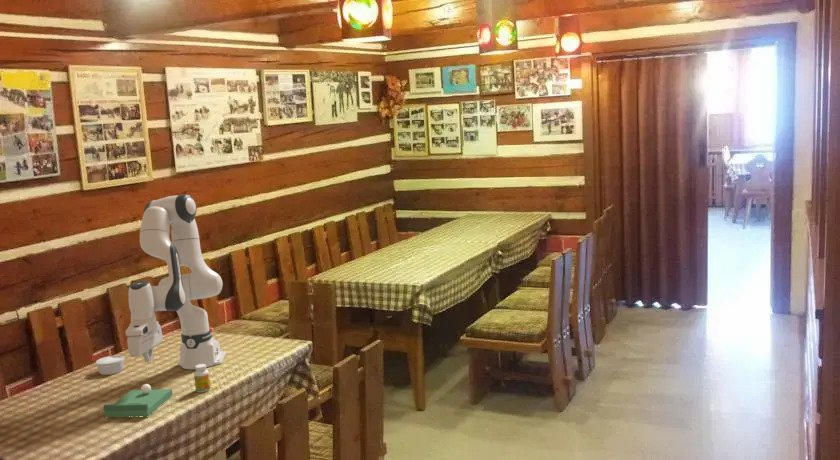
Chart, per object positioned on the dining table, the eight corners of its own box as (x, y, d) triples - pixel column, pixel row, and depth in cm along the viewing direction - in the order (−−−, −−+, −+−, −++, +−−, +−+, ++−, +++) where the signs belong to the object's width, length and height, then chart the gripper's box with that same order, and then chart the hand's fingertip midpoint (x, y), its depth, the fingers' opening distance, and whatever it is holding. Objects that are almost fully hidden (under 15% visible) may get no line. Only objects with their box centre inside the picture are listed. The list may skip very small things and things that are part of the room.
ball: (144, 391, 285) (143, 382, 284) (153, 391, 284) (152, 382, 284) (139, 395, 281) (138, 386, 281) (149, 395, 281) (147, 386, 280)
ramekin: (130, 366, 325) (129, 354, 324) (118, 375, 314) (116, 363, 313) (105, 367, 326) (104, 355, 325) (92, 376, 315) (90, 364, 314)
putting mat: (132, 396, 288) (130, 384, 288) (172, 395, 286) (171, 384, 286) (104, 417, 269) (103, 405, 268) (148, 417, 267) (146, 404, 266)
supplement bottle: (195, 393, 287) (193, 368, 285) (196, 388, 292) (193, 364, 290) (210, 391, 288) (207, 366, 287) (210, 386, 293) (207, 362, 292)
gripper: (149, 318, 294) (153, 353, 296) (122, 332, 274) (127, 369, 276) (164, 317, 294) (168, 352, 295) (139, 332, 273) (143, 369, 275)
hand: (148, 361), depth 286 cm, fingers closed
